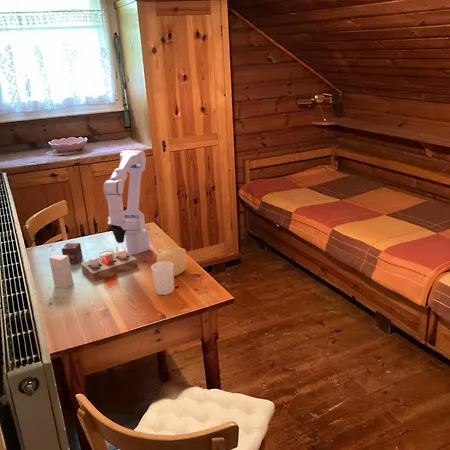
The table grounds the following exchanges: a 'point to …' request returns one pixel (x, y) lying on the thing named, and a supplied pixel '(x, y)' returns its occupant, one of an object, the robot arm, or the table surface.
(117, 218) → the robot arm
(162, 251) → the pale yellow rounded lump
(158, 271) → the white cup
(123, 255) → the cream plug
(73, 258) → the box
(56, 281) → the skincare box
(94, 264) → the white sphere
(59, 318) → the table surface
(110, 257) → the salmon pink egg
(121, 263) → the light brown rack
